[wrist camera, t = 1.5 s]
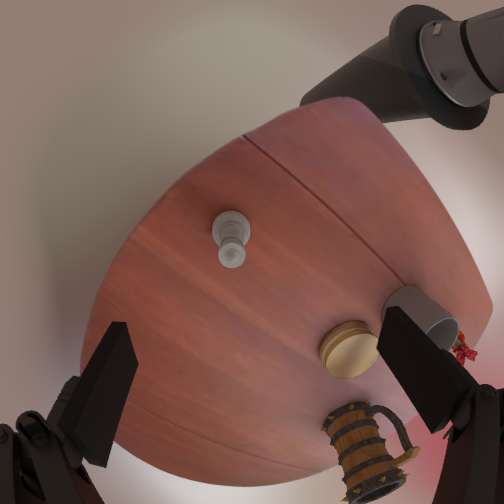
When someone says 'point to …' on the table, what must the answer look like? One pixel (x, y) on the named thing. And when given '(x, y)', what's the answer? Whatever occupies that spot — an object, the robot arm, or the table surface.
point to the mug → (367, 451)
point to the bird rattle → (462, 349)
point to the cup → (425, 315)
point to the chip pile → (349, 350)
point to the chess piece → (231, 237)
